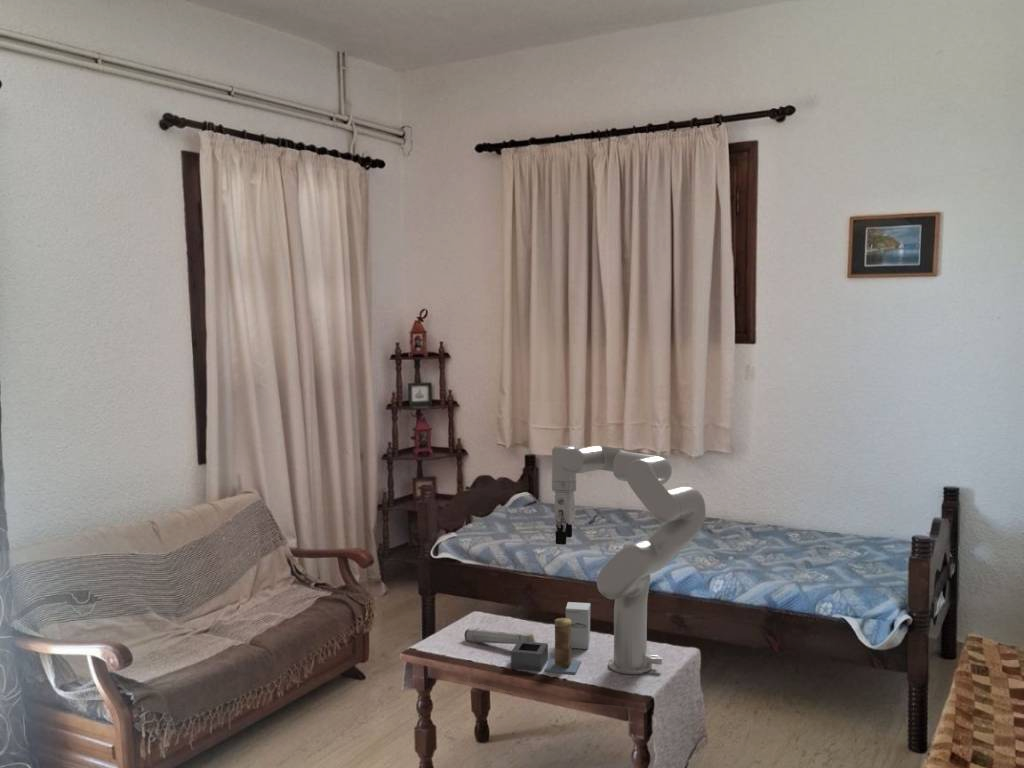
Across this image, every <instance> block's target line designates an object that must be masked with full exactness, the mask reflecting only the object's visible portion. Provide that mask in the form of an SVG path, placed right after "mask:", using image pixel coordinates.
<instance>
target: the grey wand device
mask: <svg viewBox="0 0 1024 768" xmlns="http://www.w3.org/2000/svg"><path fill="white" fill-rule="evenodd" d="M464 641H466V642H468V641H471V642H470V643H475V644H478V643H480V644H481V643H484V644H503V645H504V644H509V645H510V644H511V645H516V644H517V642H518V641H526V642H537V643H539V641H535V636H534V633H533V632H524V633H515V632H508V631H507V632H504V631H498V630H497V631H495V630H487V629H486V630H485V629H480V628H479V627H477V628H468V629H465V631H464ZM477 642H478V643H477Z"/></svg>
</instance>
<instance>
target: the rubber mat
mask: <svg viewBox="0 0 1024 768" xmlns="http://www.w3.org/2000/svg"><path fill="white" fill-rule="evenodd" d="M546 664H547V665H546V666H545V668H544V672H548V673H557V674H565V675H566V674H568V675H576V674H577V672H578V670H579V668H580V666H581V664H582V660H575V659H571V664H570V666H569V668H561V667H555V657H552V658H551V657H550V659H549V660H548V663H546Z"/></svg>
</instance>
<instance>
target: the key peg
mask: <svg viewBox="0 0 1024 768" xmlns="http://www.w3.org/2000/svg"><path fill="white" fill-rule="evenodd" d="M554 658H555V667H561V668H569V666H570V664H571V660H572V648H571V620H570V619H567V618H566V617H560V618H558V617H557V618H556V619H554Z"/></svg>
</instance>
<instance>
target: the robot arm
mask: <svg viewBox="0 0 1024 768" xmlns="http://www.w3.org/2000/svg"><path fill="white" fill-rule="evenodd" d="M594 471H606V472H612V474H613V476H614V477H615V478H616V479H617V480H618V481H621V482H627V484H628V486H629V487H630V488H631V490H632V491H633V492H634V494H635V496H636V497H637V498H638V500H639V501H640V502H641V503H642V504H643V505H644V507H645V509H646V510H647V511H648V513H649V514H650V515H651V516H652V517H653V518H655V520H656V521H659V522H662V523H663V524H661V525H660V526H659V527H658V528H657V530H656V531H654V532H653V533H652V534H651V535H650V536H648V537H647V538H644V539H642V540H641V539H640V540H638V541H636V542H632V543H630V544H628V545H626V546H624V547H623V548H622V549H620V550H619V551H618V552H617V553H616V554H615V555H614V556H613V557H612V558H611V559H610V560H609V561H608V562H607V563H606V564H605V565H603V567H602V568H601V570H600V571H599V572H598V575H597V578H596V585H597V586H596V587H597V590H598V591H599V593H600V594H601V595H602V596H603V597H604V598H606V599H609V600H614V603H613V605H614V607H613V657H611V658H609V660H608V668H609V669H611V670H612V671H614V672H617V673H619V674H623V675H624V674H625V675H640V674H641V675H642V674H646V673H648V672H650V671H651V670H652V669H653V668H652V667H653V665H658V666H660V665H662V664H663V657H659V655H656V654H653V655H652V654H651V653H649V652H650V651H649V649H648V648H647V647H648V646H647V645H648V644H647V642H648V641H647V640H648V639H647V637H648V636H647V634H648V633H647V632H648V630H647V629H648V627H647V625H648V624H647V623H648V622H647V621H648V596H649V590H650V586H651V585H650V584H651V575H652V574H655V573H657V572H659V571H661V570H662V569H664V567H666V566H667V564H668V563H669V562H670V561H671V560H672V559H674V557H675V556H677V555H678V554H679V553H680V552H681V551H682V550H683V549H684V548H685V547H686V546H687V545H688V544H689V543H690V542H691V541H692V540H693V539H694V538H695V537H696V536H697V535H698V533H699V531H701V528H703V525H704V523H705V518H706V502H705V499H704V496H703V495H702V494H701V492H700V491H699V490H697V489H696V488H693V487H690V486H680V487H679V486H678V487H675V488H671V489H667V488H666V487H665V486H664V485H665V484H666V483H667V482H668V481H669V480H670V478H671V476H672V473H673V472H672V466H671V464H670V462H669V461H668V460H667V459H666V458H664V457H662V456H658V455H652V454H647V453H646V454H645V453H637V452H631V451H625V450H623V449H620V448H618V447H611V446H605V445H590V446H583V447H574V446H573V445H565V444H563V445H560V444H559V445H556V446H554V447H552V449H551V491H552V492H554V523H555V525H556V526H555V544H556V545H563V546H564V545H565V546H566V545H567V538H572V536H573V521H575V519H576V503H575V492H576V491H577V474H583V473H588V472H594ZM645 672H646V673H645Z"/></svg>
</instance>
